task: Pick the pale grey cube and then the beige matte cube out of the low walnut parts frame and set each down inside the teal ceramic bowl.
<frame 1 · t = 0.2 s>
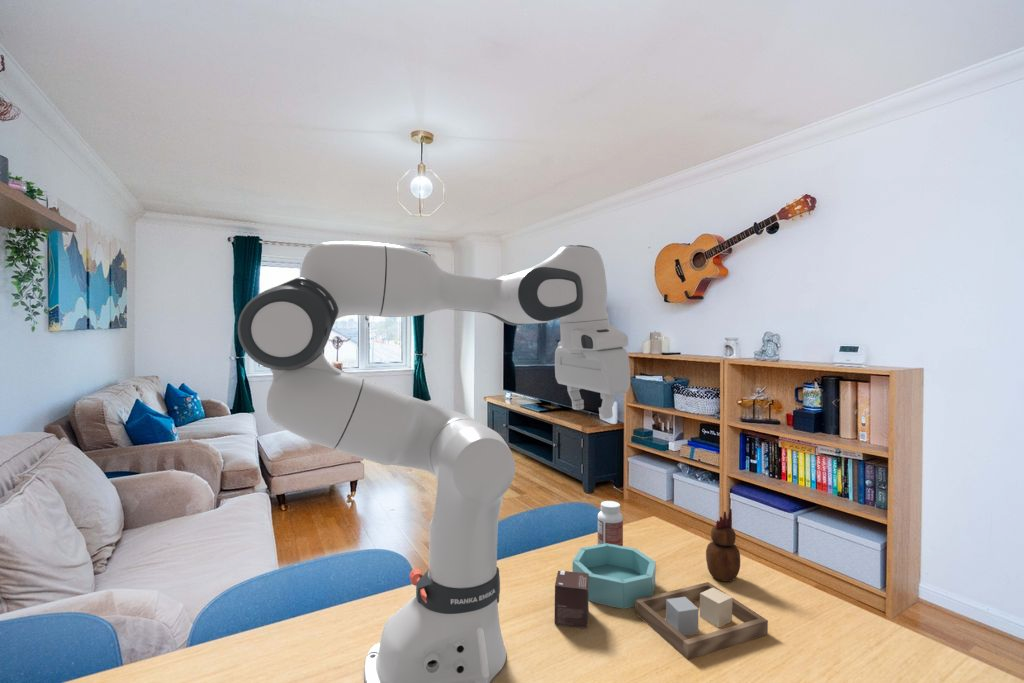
hand: (591, 413, 86), 39 cm above the table, tool pointing down, fingers open, 8 cm apart
bowl: (613, 584, 101), on the table
pale grey cube: (681, 628, 86), resting in parts frame
wooden figurine: (722, 578, 104), on the table
parts frame: (698, 623, 88), on the table
box: (571, 619, 89), on the table
beige matte cube: (715, 619, 89), resting in parts frame
pill bottle: (609, 549, 118), on the table
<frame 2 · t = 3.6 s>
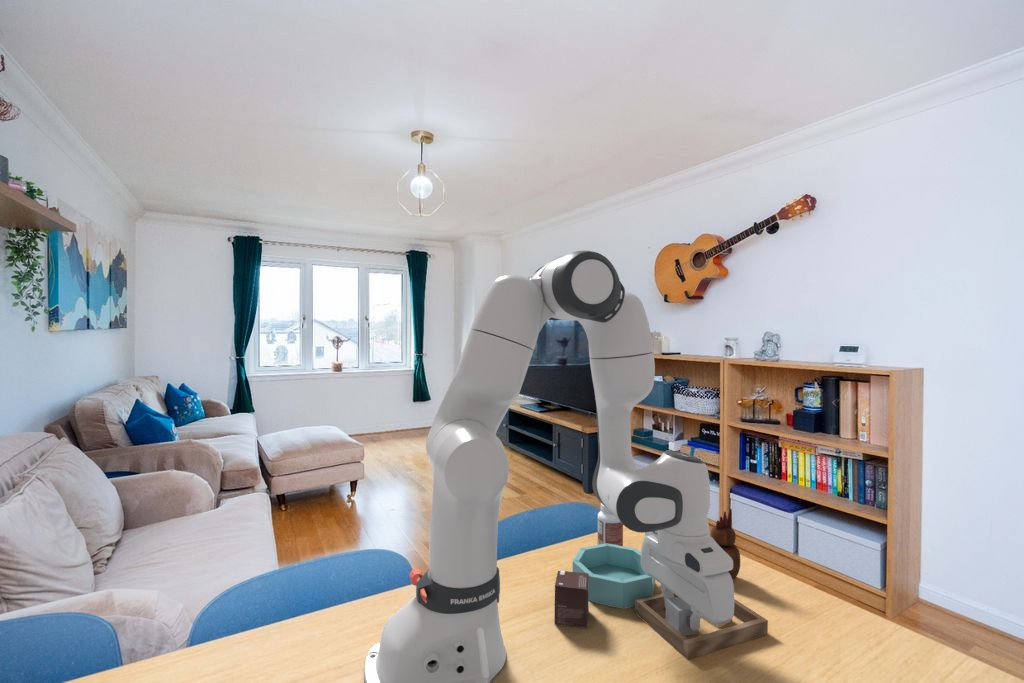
hand: (681, 618, 86), 2 cm above the table, tool pointing down, fingers closed on pale grey cube, 4 cm apart
pale grey cube: (681, 628, 86), resting in parts frame, touching gripper
everything else where it was.
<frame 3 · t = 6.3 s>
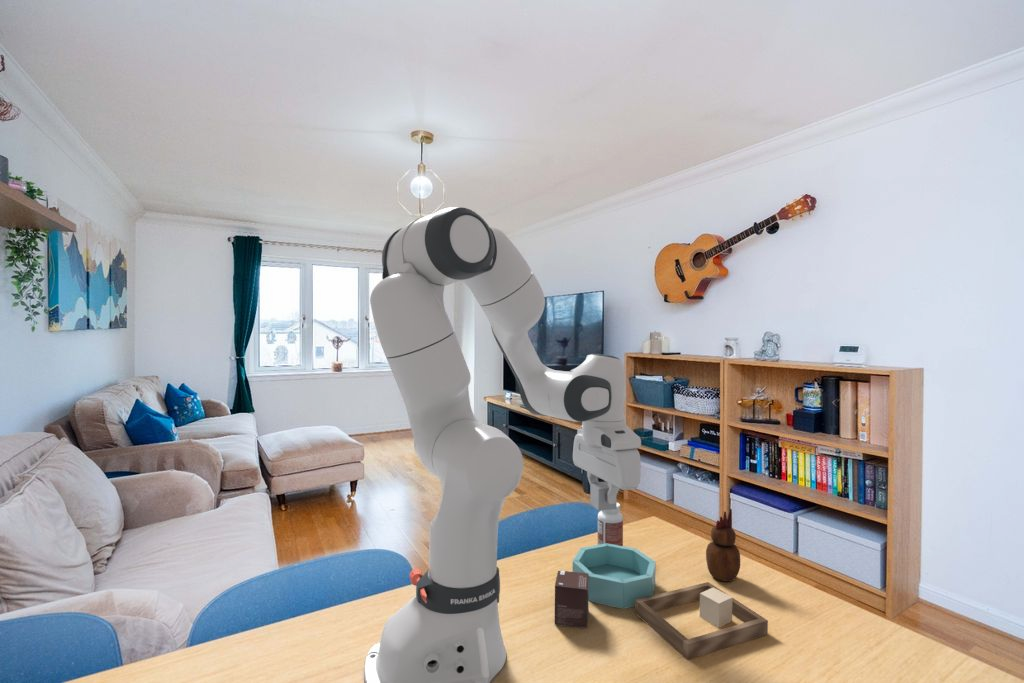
hand: (602, 498, 100), 19 cm above the table, tool pointing down, fingers closed on pale grey cube, 4 cm apart
pale grey cube: (603, 506, 100), point 17 cm above the table, touching gripper
everything else where it was.
when the fingers open (6 cm above the table, at t = 9.0 s): pale grey cube drops 3 cm, resting on bowl.
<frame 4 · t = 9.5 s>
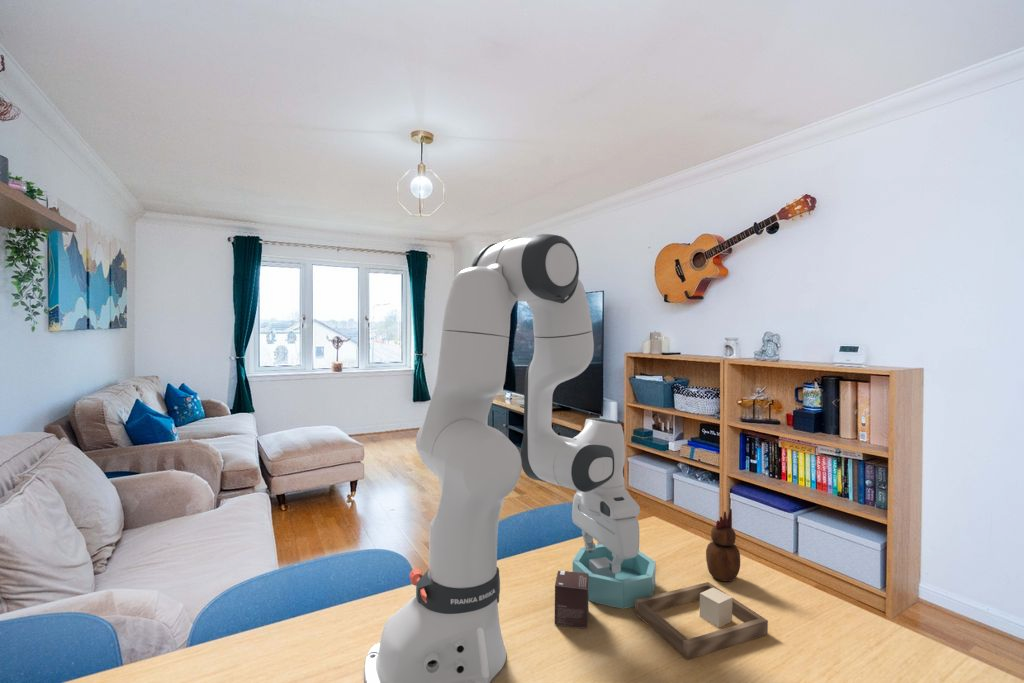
hand: (601, 561, 100), 6 cm above the table, tool pointing down, fingers open, 8 cm apart
pale grey cube: (601, 584, 100), point 1 cm above the table, touching bowl
everything else where it was.
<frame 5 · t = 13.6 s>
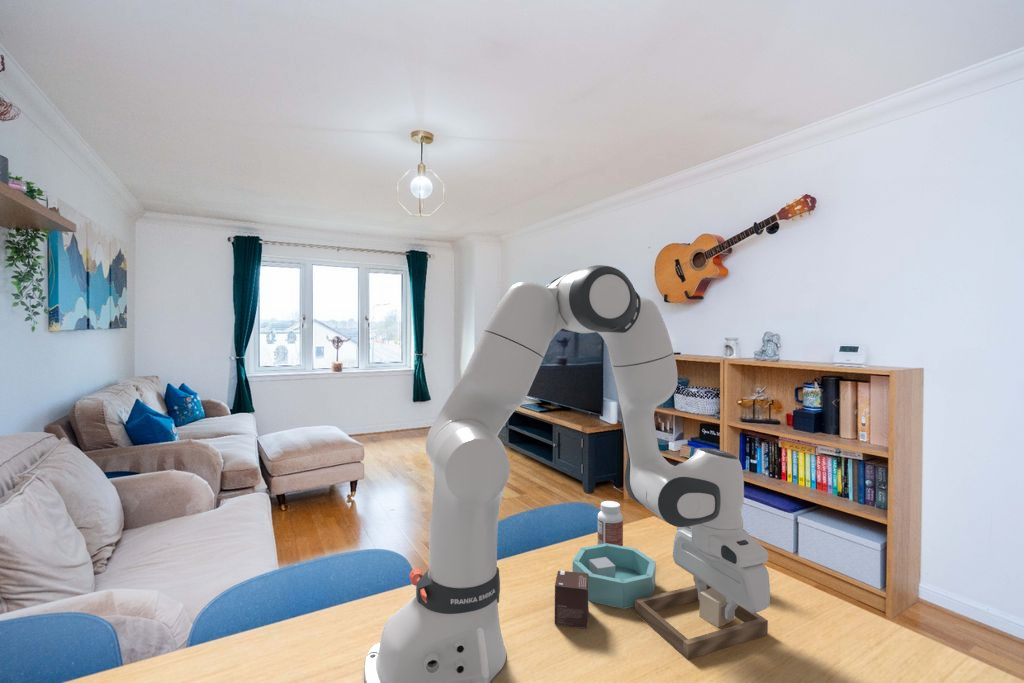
hand: (715, 609, 89), 2 cm above the table, tool pointing down, fingers closed on beige matte cube, 4 cm apart
beige matte cube: (715, 618, 89), resting in parts frame, touching gripper
everything else where it was.
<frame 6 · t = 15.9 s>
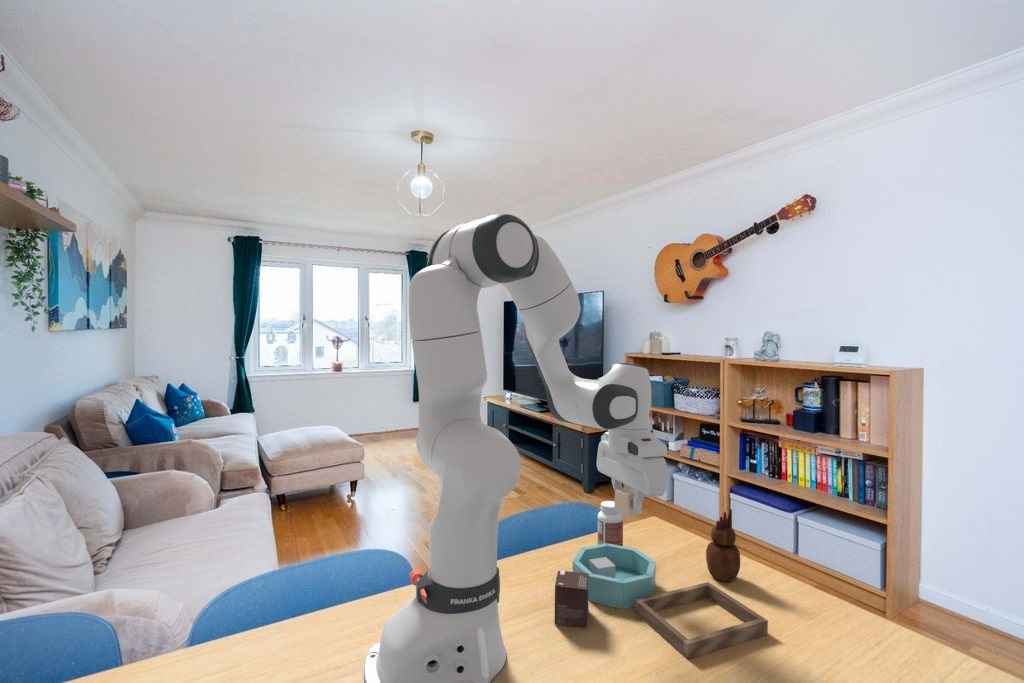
hand: (627, 504, 101), 17 cm above the table, tool pointing down, fingers closed on beige matte cube, 4 cm apart
beige matte cube: (628, 512, 102), point 15 cm above the table, touching gripper
everything else where it was.
when the fingers open (6 cm above the table, at t = 18.5 s): beige matte cube drops 3 cm, resting on bowl.
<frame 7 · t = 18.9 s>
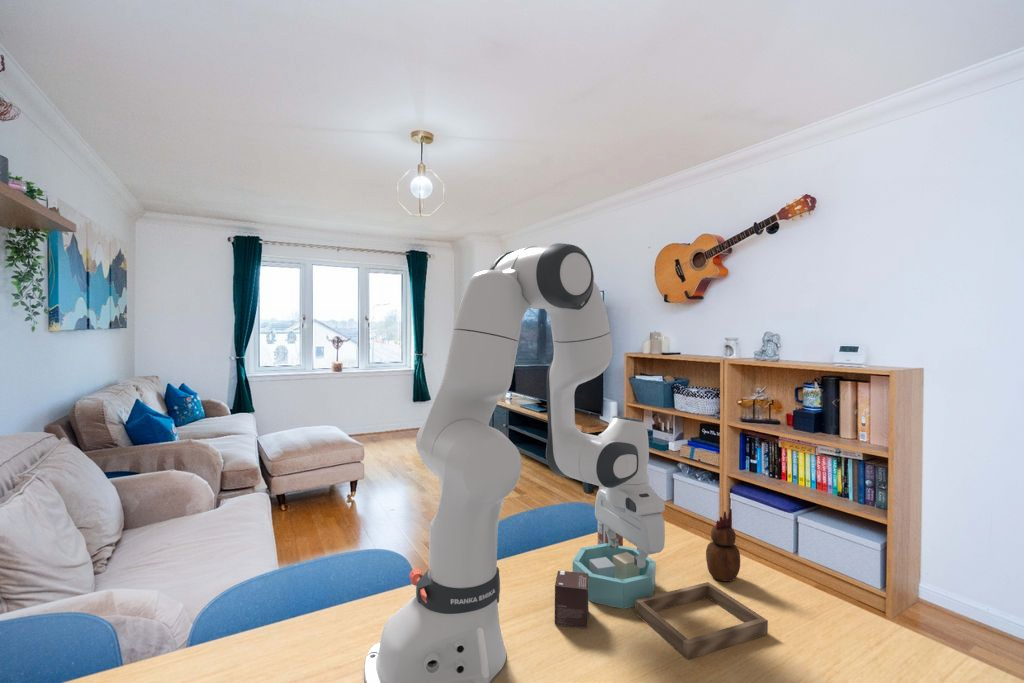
hand: (625, 556, 102), 6 cm above the table, tool pointing down, fingers open, 8 cm apart
beige matte cube: (625, 578, 102), point 1 cm above the table, touching bowl
everything else where it was.
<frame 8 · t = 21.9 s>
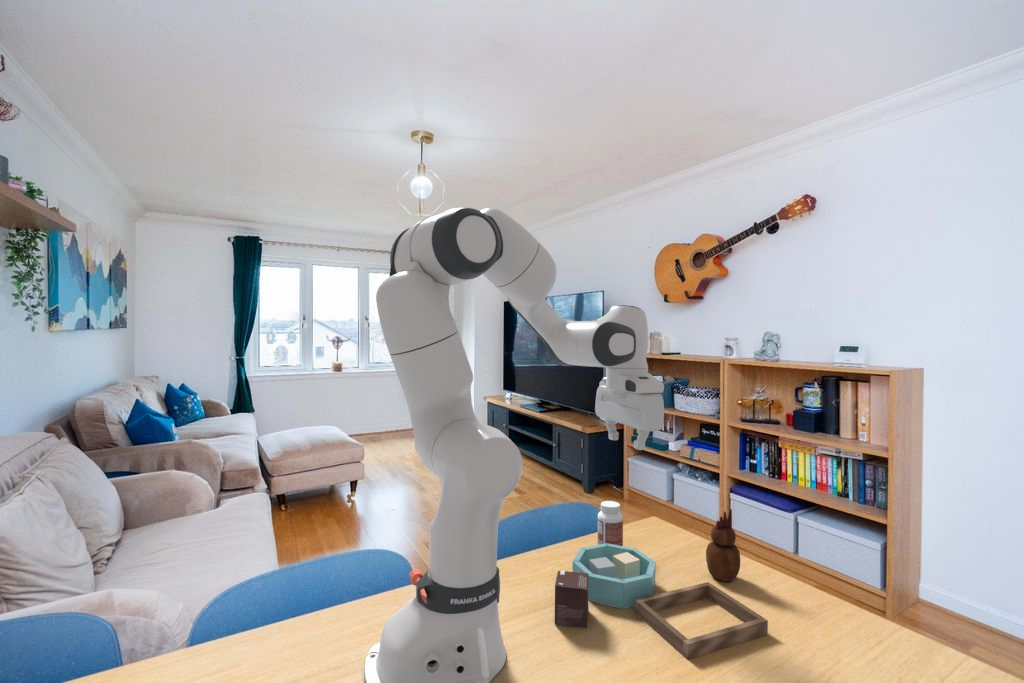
hand: (625, 444, 104), 29 cm above the table, tool pointing down, fingers open, 8 cm apart
nothing on the table moved.
at the end: pale grey cube 3.0 cm from the bowl (horizontally); beige matte cube 3.0 cm from the bowl (horizontally); pale grey cube point 0.8 cm above the table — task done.
